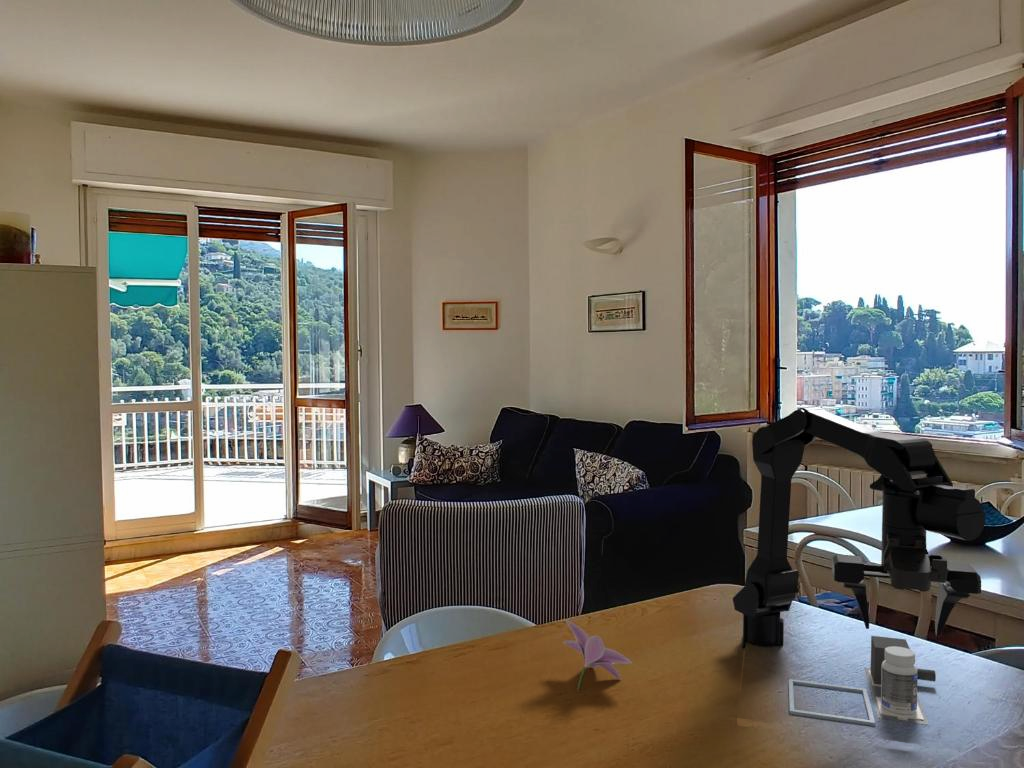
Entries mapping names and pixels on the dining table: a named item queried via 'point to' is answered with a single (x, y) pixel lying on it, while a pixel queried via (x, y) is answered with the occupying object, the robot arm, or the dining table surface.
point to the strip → (885, 714)
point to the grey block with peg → (878, 657)
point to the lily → (594, 651)
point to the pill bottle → (899, 680)
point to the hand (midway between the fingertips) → (901, 631)
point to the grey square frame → (827, 716)
